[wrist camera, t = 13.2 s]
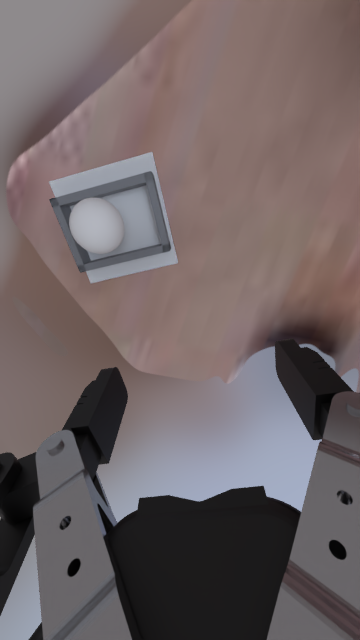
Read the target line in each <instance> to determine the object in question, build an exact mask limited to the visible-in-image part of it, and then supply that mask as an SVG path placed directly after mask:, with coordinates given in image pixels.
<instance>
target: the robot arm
mask: <svg viewBox="0 0 360 640" xmlns="http://www.w3.org/2000/svg"><path fill="white" fill-rule="evenodd" d="M275 358H276V371H277V375H278V378H279V380H280V382H281V384H282V386H283V387H284V389H285V391H286V393H287V394H288V396H289V398H290V400H291V401H292V403H293V405H294V407H295V409H296V411H297V412H298V414H299V416H300V418H301V419H302V421H303V423H304V425H305V427H306V428H307V430H308V432H309V434H310V436H311V437H312V439H313V440H319V439H322V442H320V443H319V446H318V449H317V453H316V458H315V461H314V465H313V469H312V473H311V477H310V481H309V485H308V488H307V493H306V496H305V500H304V504H303V508H302V512H300V511H299V510H297V509H296V508H294V507H292V506H291V505H289V504H287V503H284V502H282V501H280V500H277V499H274V498H270V497H266V493H265V490H264V486H258V487H248V488H238V489H231V490H228V491H226V492H223V493H221V494H218V495H216V496H214V497H212V498H209V499H207V500H204V501H200V502H197V501H193V500H188V499H183V498H179V497H174V496H170V495H166V496H157V497H146V498H140V499H139V504H138V510H136V511H134V512H132V513H131V514H129V515H127V516H126V517H124V518H123V519H122V520H120V521H119V522H118V523H117V521H116V519H115V517H114V515H113V513H112V510H111V507H110V505H109V502H108V500H107V497H106V495H105V492H104V490H103V487H102V484H101V482H100V479H99V477H98V474H97V472H96V471H97V468H98V465H99V464H107V463H109V461H110V457H111V454H112V451H113V447H114V444H115V441H116V437H117V434H118V430H119V427H120V424H121V420H122V417H123V414H124V411H125V407H126V404H127V399H128V394H127V390H126V387H125V384H124V382H123V379H122V377H121V374H120V372H119V370H118V368H117V367H114V368H108V369H102V370H101V371H100V373H99V375H98V376H97V378H96V380H95V381H92V382H91V383H90V384H89V385H88V386H87V387H86V388H85V389H84V391H83V393H82V395H81V398H80V399H79V400H78V402H77V405H76V406H75V407H74V409H73V411H72V413H71V414H70V417H69V418H68V420H67V422H66V424H65V425H64V427H63V429H62V431H58V432H56V433H54V434H52V435H51V436H50V437H48V438H47V439H46V440H45V441H44V442H43V443H42V444H41V446H40V447H39V448H38V450H37V452H35V453H33V454H30V455H28V456H26V457H23V458H21V459H18V460H17V458H16V457H15V456H14V455H13V454H12V453H3V454H0V517H1V520H0V615H1V613H2V611H3V608H4V606H5V603H6V601H7V599H8V596H9V594H10V592H11V589H12V587H13V584H14V582H15V579H16V577H17V575H18V572H19V570H20V567H21V565H22V563H23V561H24V558H25V556H26V554H27V551H28V548H29V546H30V544H31V542H32V539H33V537H34V534H35V542H36V555H37V567H38V578H39V592H40V604H41V616H42V622H41V624H40V625H39V626H38V628H37V629H36V630H35V632H34V633H33V635H32V636H31V637H30V639H29V640H360V393H357V392H354V391H353V390H351V388H350V387H349V386H348V385H347V384H346V383H345V382H344V381H343V380H342V379H341V378H340V376H339V375H338V374H337V373H336V372H335V371H334V370H333V369H332V368H330V366H329V365H328V364H327V362H325V361H324V359H323V358H322V357H321V356H320V355H319V354H318V353H317V352H315V351H313V350H311V349H309V348H307V347H304V348H300V346H299V345H298V344H297V343H296V342H295V340H294V339H287V340H281V341H276V342H275Z"/></svg>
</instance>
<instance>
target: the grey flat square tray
mask: <svg viewBox="0 0 360 640" xmlns="http://www.w3.org/2000/svg"><path fill="white" fill-rule="evenodd" d="M49 183H50V185H51V188H52V190H53V193H54V195H55V197H56V198H52V199H49V200H50V202H51V205H52V207H53V210H54V212H55V214H56V217H57V219H58V221H59V224H60V226H61V228H62V231H63V233H64V236H65V238H66V240H67V243H68V245H69V247H70V250H71V252H72V254H73V257H74V259H75V262H76V264H77V266H78V269H79V271H80V272H85V271H86V273H87V275H88V278H89V280H90V283H95V282H99V281H103V280H107V279H112V278H116V277H120V276H125V275H129V274H133V273H138V272H142V271H146V270H151V269H155V268H159V267H163V266H168V265H172V264H176V263H178V260H177V256H176V251H175V247H174V243H173V239H172V234H171V230H170V226H169V221H168V217H167V213H166V208H165V204H164V200H163V196H162V191H161V187H160V183H159V178H158V174H157V170H156V165H155V161H154V157H153V153H152V152H150V153H146V154H143V155H139V156H136V157H133V158H129V159H126V160H122V161H119V162H115V163H112V164H108V165H105V166H101V167H98V168H95V169H91V170H88V171H84V172H81V173H77V174H74V175H70V176H67V177H63V178H60V179H56V180H53V181H50V182H49ZM91 197H92V198H100V199H104V200H106V201H108V202H110V203H111V204H112V205H113V206H114V207H115V208H116V209H117V210H118V211H119V213H120V214H121V217H122V219H123V222H124V237H123V240H122V242H121V243H120V245H119V246H118V247H117V248H116V249H114V250H113V251H111V252H109V253H105V254H96V253H92V252H89V251H87V250H85V249H84V248H82V247H81V246H80V245H79V244H78V243H77V242H76V241H75V239H74V238H73V236H72V234H71V231H70V226H69V218H70V214H71V212H72V209H73V208H74V206H75V205H76V204H77V203H79V202H80V201H81V200H84V199H86V198H91Z"/></svg>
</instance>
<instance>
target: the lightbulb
mask: <svg viewBox="0 0 360 640" xmlns="http://www.w3.org/2000/svg"><path fill="white" fill-rule="evenodd" d="M69 226H70V231H71V234H72V236H73V238H74V239H75V241H76V242H77V243H78V244H79V245H80V246H81V247H82V248H84V249H85V250H87V251H89V252H92V253H96V254H105V253H109V252H111V251H113V250H114V249H116V248H117V247H118V246H119V245H120V243H121V242H122V240H123V237H124V222H123V219H122V217H121V214H120V213H119V211H118V210H117V209H116V208H115V207H114V206H113V205H112V204H111V203H110V202H108V201H106V200H104V199H100V198H92V197H91V198H86V199H84V200H81V201H80V202H79V203H77V204H76V205H75V206H74V208H73V209H72V212H71V214H70V218H69Z"/></svg>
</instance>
